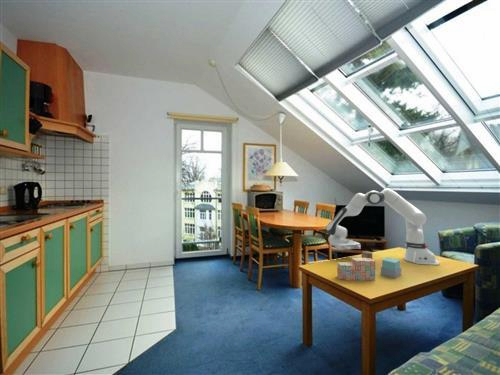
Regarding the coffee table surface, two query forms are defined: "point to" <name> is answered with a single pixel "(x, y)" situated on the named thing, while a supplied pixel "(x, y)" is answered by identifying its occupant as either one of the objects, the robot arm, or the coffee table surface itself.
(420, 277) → the coffee table surface
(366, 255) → the walnut block
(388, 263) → the tower top
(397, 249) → the coffee table surface
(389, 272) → the tower base
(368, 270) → the stack of blocks
